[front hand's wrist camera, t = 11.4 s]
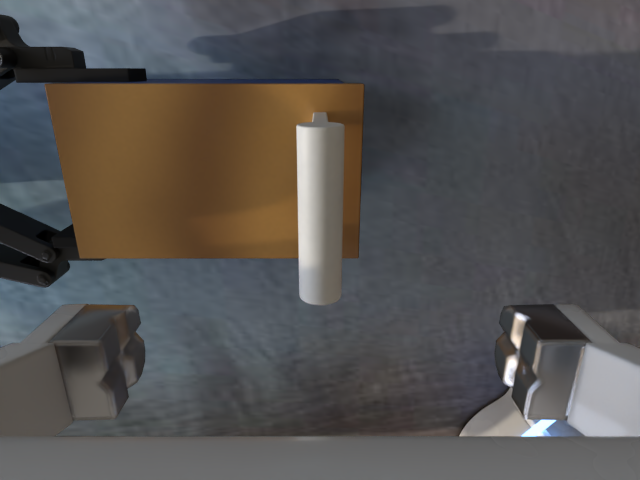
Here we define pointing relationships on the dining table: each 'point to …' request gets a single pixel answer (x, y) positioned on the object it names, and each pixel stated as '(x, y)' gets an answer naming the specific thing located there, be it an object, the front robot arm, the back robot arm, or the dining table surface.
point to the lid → (215, 172)
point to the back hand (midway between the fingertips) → (149, 160)
